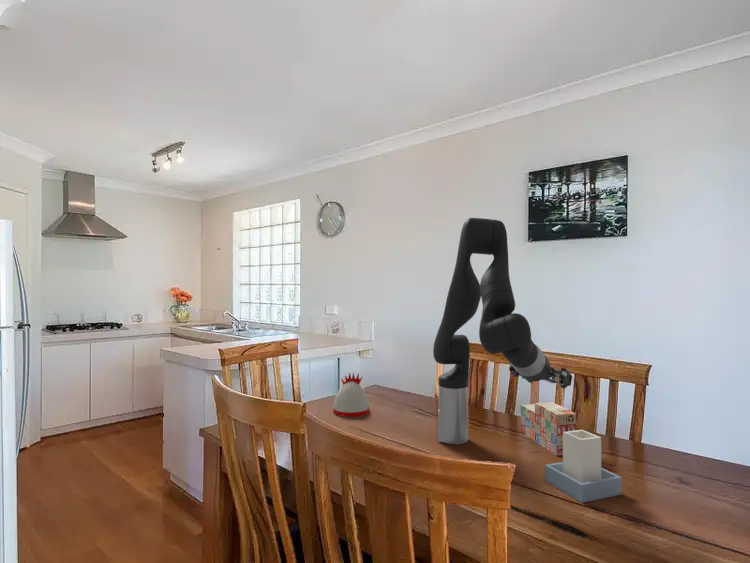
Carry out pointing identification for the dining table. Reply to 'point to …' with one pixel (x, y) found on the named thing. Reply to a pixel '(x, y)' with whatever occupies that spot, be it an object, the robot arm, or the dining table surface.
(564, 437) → the cream caddy
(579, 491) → the slate crate
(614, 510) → the dining table surface
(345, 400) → the kitchen timer
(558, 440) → the stack of blocks
